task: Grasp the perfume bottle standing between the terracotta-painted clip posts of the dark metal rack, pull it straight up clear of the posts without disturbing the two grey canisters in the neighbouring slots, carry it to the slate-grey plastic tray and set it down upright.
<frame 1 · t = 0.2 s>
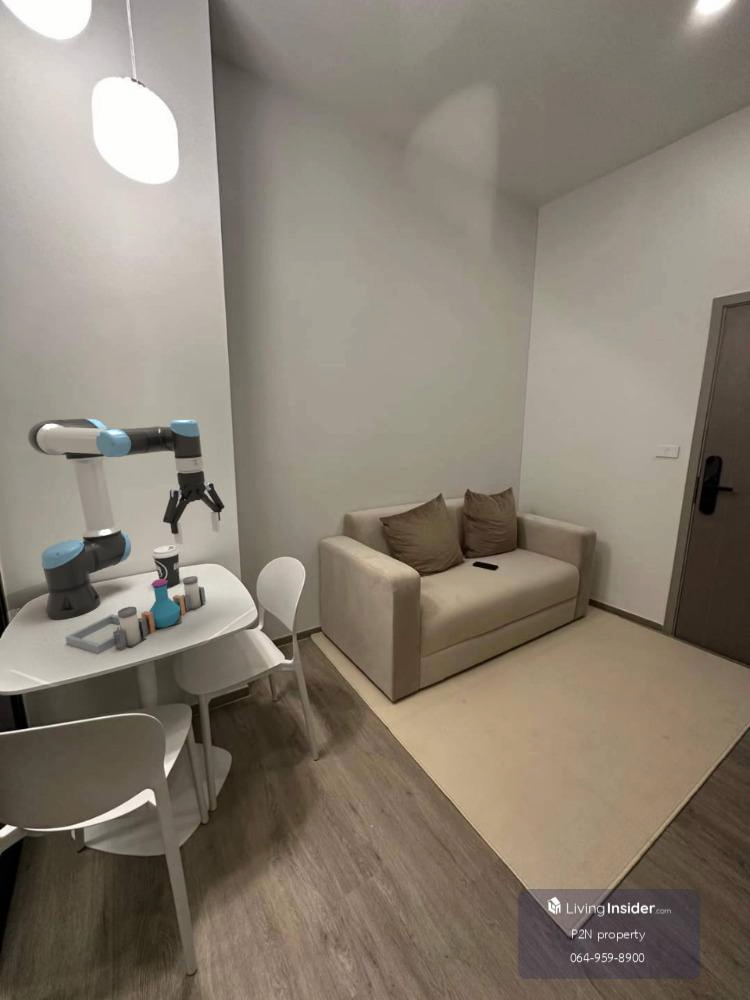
hand: (198, 537, 127), 27 cm above the table, fingers open, 13 cm apart
tray: (107, 638, 120), on the table
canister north: (193, 605, 137), point 1 cm above the table, touching clip rack
perfume bottle: (166, 625, 127), on the table
coffee cup: (170, 585, 157), on the table
clip rack: (166, 624, 127), on the table
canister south: (132, 641, 117), point 1 cm above the table, touching clip rack
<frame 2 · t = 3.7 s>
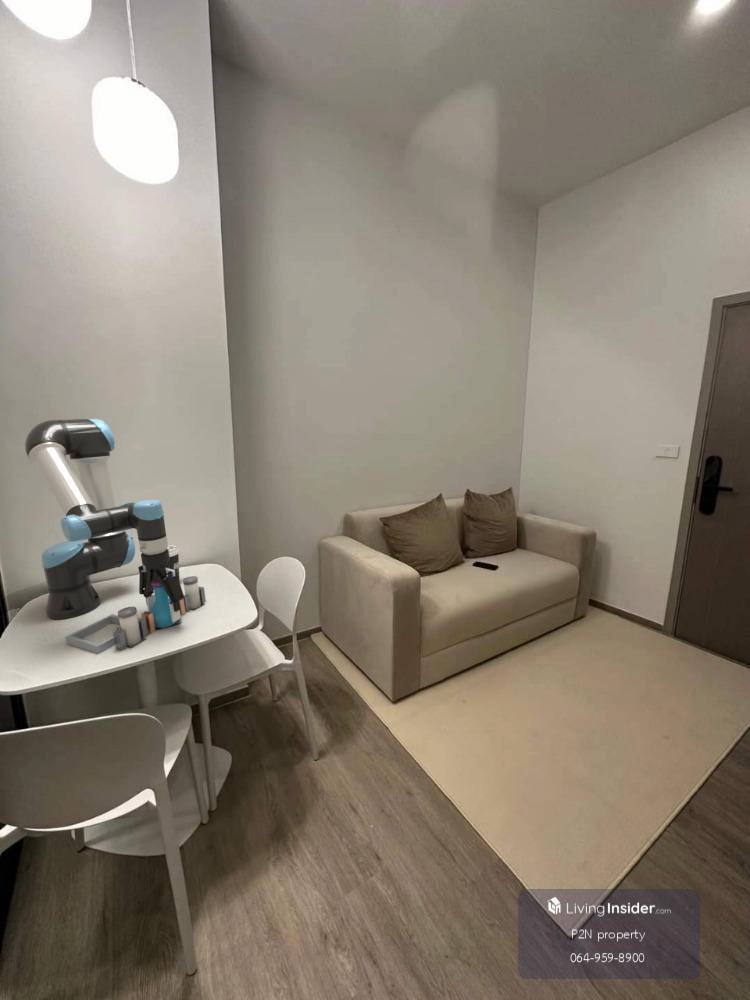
hand: (164, 617, 127), 3 cm above the table, fingers closed on perfume bottle, 9 cm apart
perfume bottle: (166, 625, 127), on the table, touching gripper
everything else where it was.
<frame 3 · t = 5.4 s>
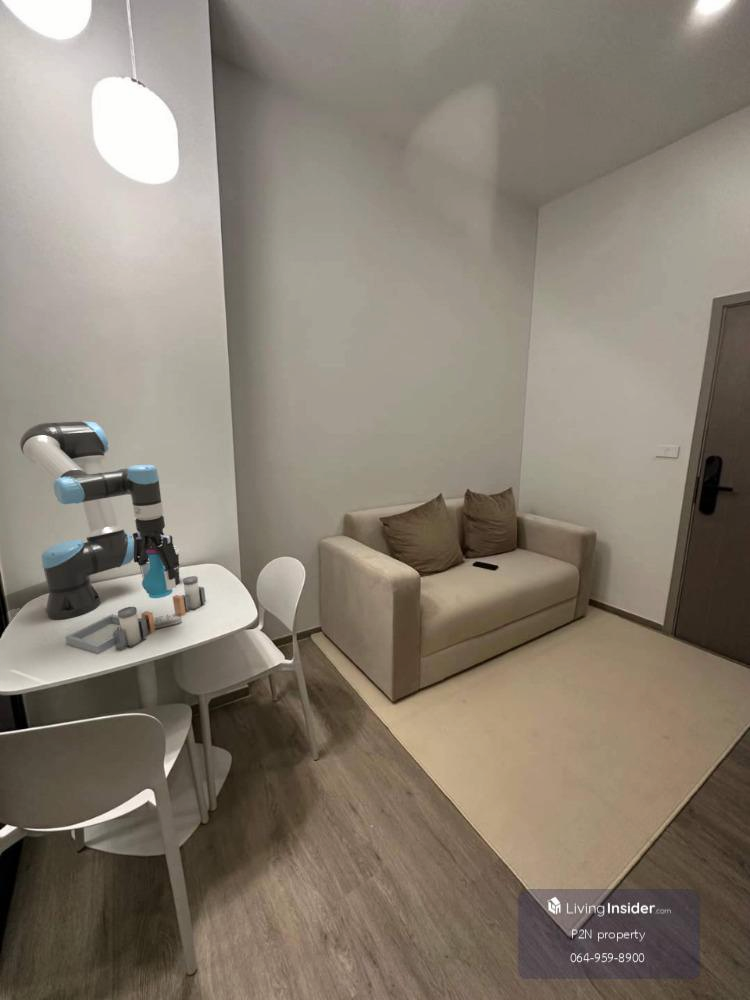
hand: (159, 585, 124), 13 cm above the table, fingers closed on perfume bottle, 9 cm apart
perfume bottle: (160, 594, 125), point 11 cm above the table, touching gripper
everything else where it was.
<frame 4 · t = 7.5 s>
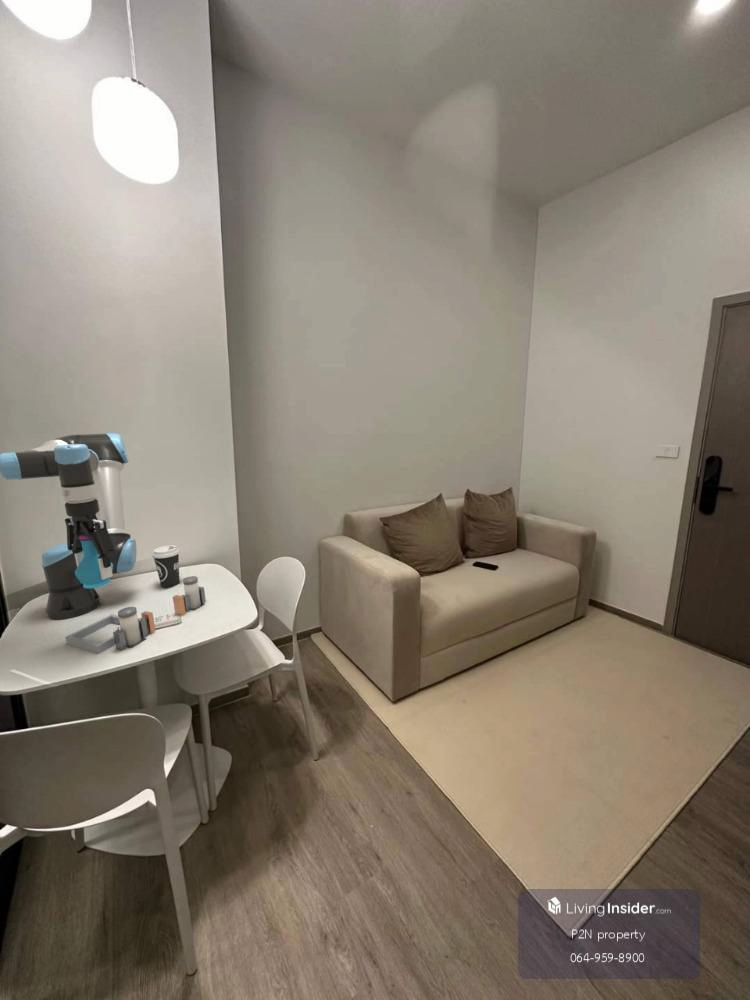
hand: (95, 575, 116), 20 cm above the table, fingers closed on perfume bottle, 9 cm apart
perfume bottle: (97, 584, 116), point 18 cm above the table, touching gripper
everything else where it was.
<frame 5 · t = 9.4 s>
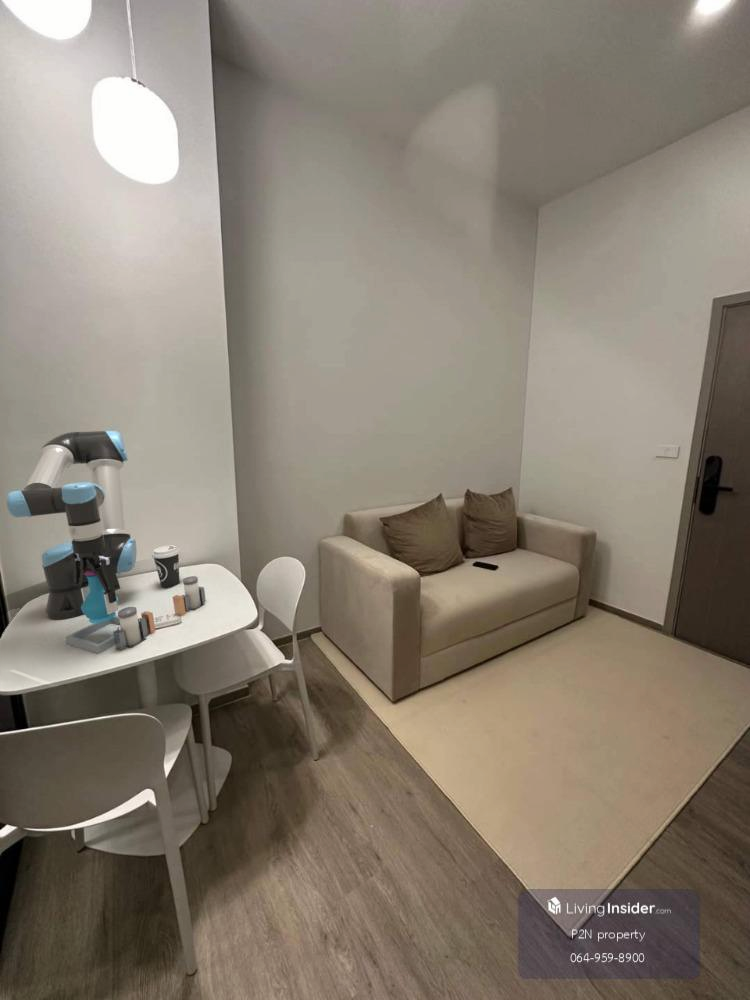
hand: (101, 609, 118), 10 cm above the table, fingers closed on perfume bottle, 9 cm apart
perfume bottle: (102, 617, 118), point 7 cm above the table, touching gripper
everything else where it was.
when the fingers open (5 cm above the table, at t = 11.3 s): perfume bottle drops 2 cm, resting on tray.
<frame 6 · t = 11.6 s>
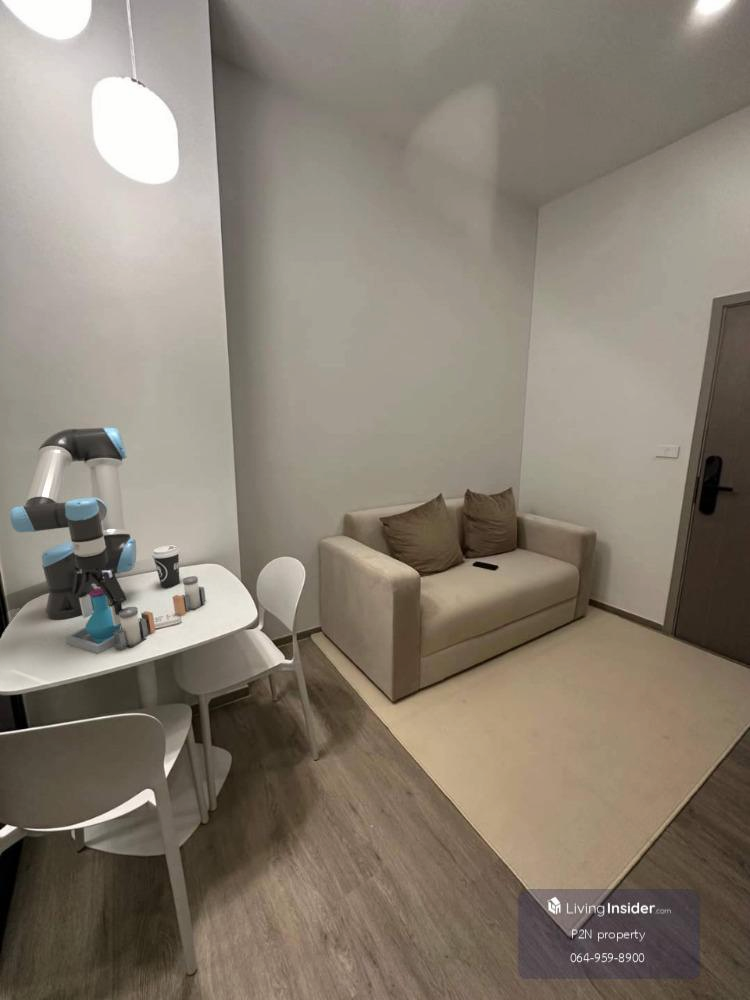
hand: (103, 619, 119), 6 cm above the table, fingers open, 13 cm apart
perfume bottle: (106, 636, 120), resting on tray
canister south: (132, 641, 117), point 1 cm above the table, touching clip rack, gripper
everything else where it was.
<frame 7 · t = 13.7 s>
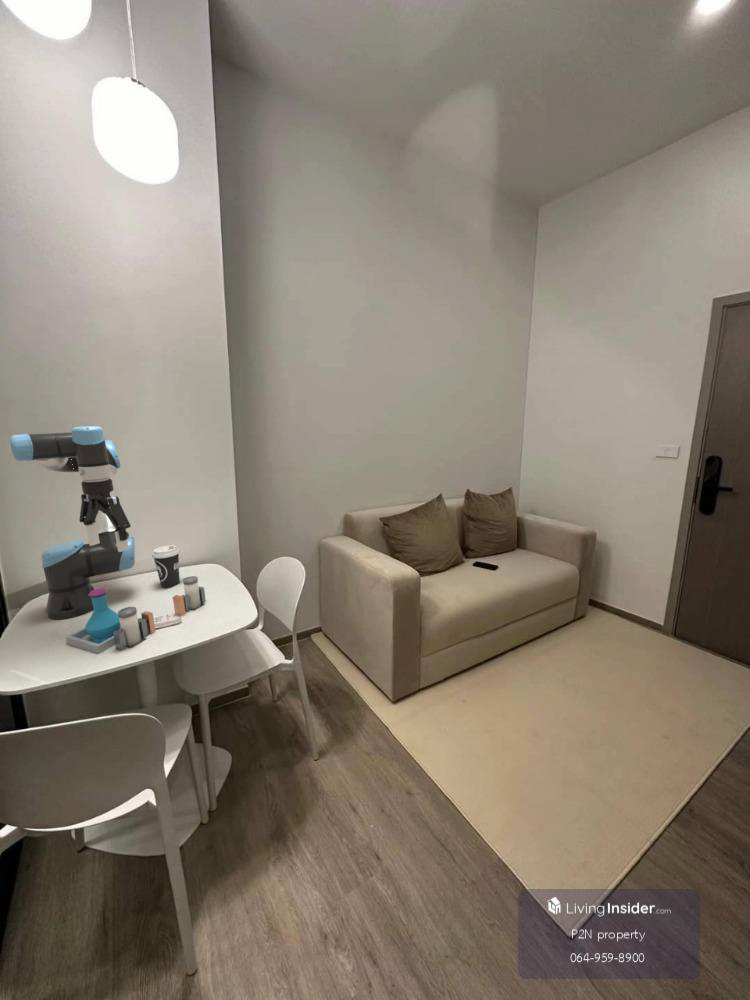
hand: (108, 547, 122), 26 cm above the table, fingers open, 13 cm apart
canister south: (132, 641, 117), point 1 cm above the table, touching clip rack
everything else where it was.
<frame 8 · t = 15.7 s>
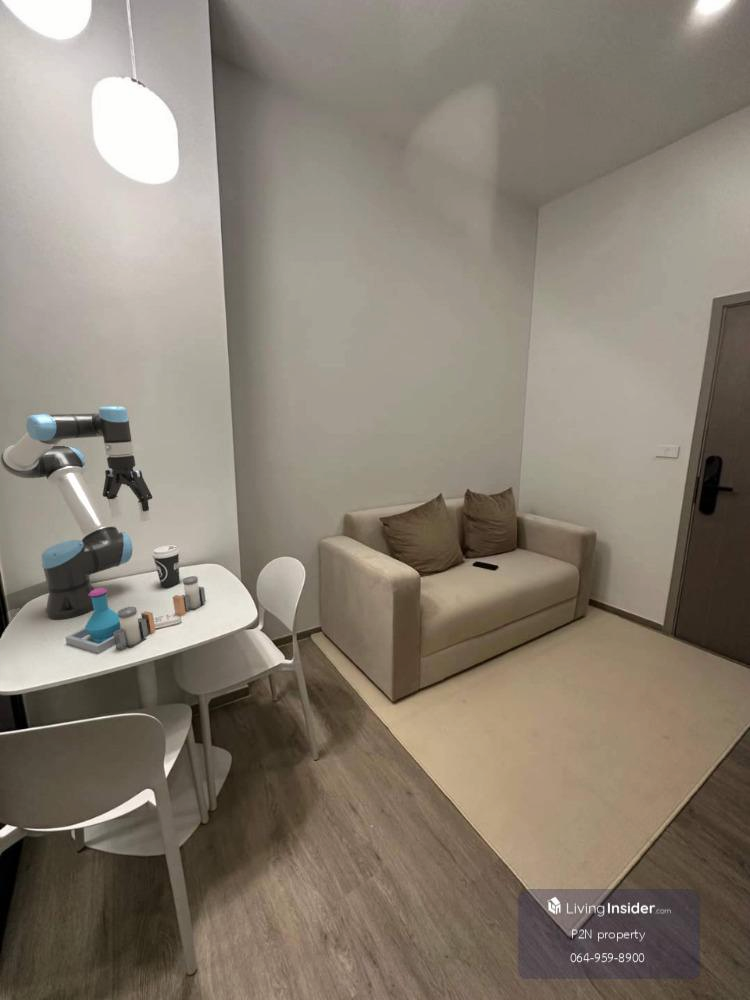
hand: (130, 519, 133), 32 cm above the table, fingers open, 13 cm apart
nothing on the table moved.
at the end: perfume bottle inside the target area on the tray (0.0 cm from its centre), point 0.4 cm above the tray's base; perfume bottle tilted 0°; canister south moved 0.0 cm from its start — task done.
